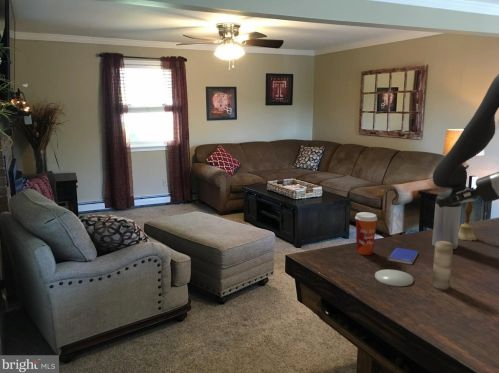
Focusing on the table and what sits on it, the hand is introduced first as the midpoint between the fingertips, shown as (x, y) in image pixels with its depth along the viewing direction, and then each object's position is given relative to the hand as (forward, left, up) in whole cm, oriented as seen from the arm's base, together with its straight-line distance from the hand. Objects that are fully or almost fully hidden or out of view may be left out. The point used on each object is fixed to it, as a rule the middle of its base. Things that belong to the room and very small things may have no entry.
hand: (443, 203), depth 133 cm
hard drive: (-16, -12, -26) cm, 33 cm away
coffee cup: (-15, -26, -26) cm, 39 cm away
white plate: (+6, -13, -25) cm, 29 cm away
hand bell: (-50, +10, -26) cm, 57 cm away
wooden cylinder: (+6, +1, -25) cm, 26 cm away
